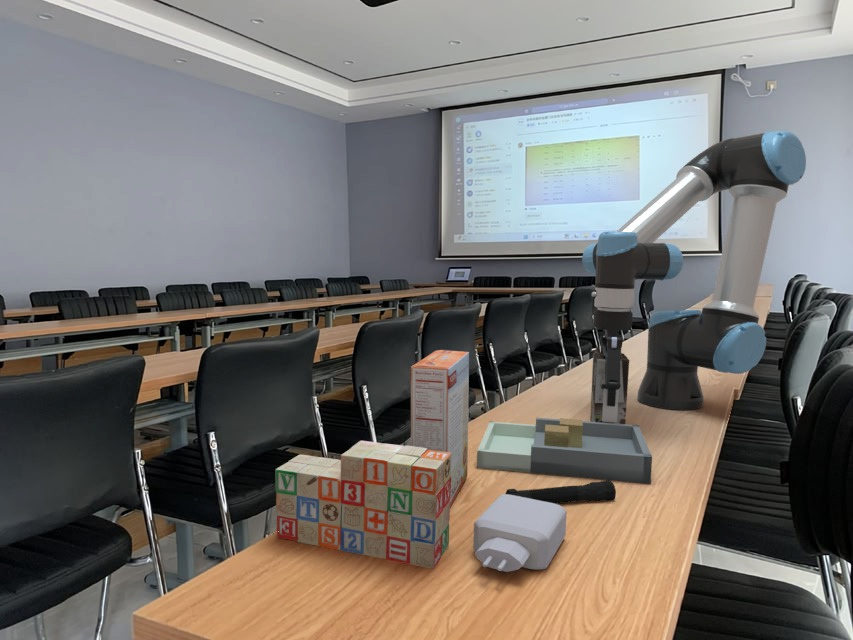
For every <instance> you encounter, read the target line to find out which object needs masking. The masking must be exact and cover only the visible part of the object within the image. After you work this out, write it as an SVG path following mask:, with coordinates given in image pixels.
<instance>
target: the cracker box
mask: <svg viewBox="0 0 853 640" xmlns="http://www.w3.org/2000/svg"><path fill="white" fill-rule="evenodd" d="M469 377H470V352H469V351H458V350H448V349H439V350H438V349H437V350H435V351H433V352H432V353H430V354H429V355H427V356H425V357H424V358H422V359H420V360H419V361H418V362H416V363H415V364H413V365H411V366H410V446H414V447H422V448H427V449H428V450H434V451H441V452H448V453H451V497H450V508H451V506H452V505H453V503H454V501H455V500H456V498H457V496H458V494H459V492H460V491H461V488H462V487H463V485H464V483H465V481H466V480H467V478H468V471H469V470H468V469H469V468H468V466H469V465H468V464H469V463H468V462H469V459H468V457H469V455H468V453H469V388H470V386H469V382H470V381H469V379H470V378H469Z"/></svg>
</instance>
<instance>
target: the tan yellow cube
mask: <svg viewBox="0 0 853 640" xmlns="http://www.w3.org/2000/svg"><path fill="white" fill-rule="evenodd" d="M568 435H569V427H568V426H558V425H545V438H544V446H555V447H567V448H568Z"/></svg>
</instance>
